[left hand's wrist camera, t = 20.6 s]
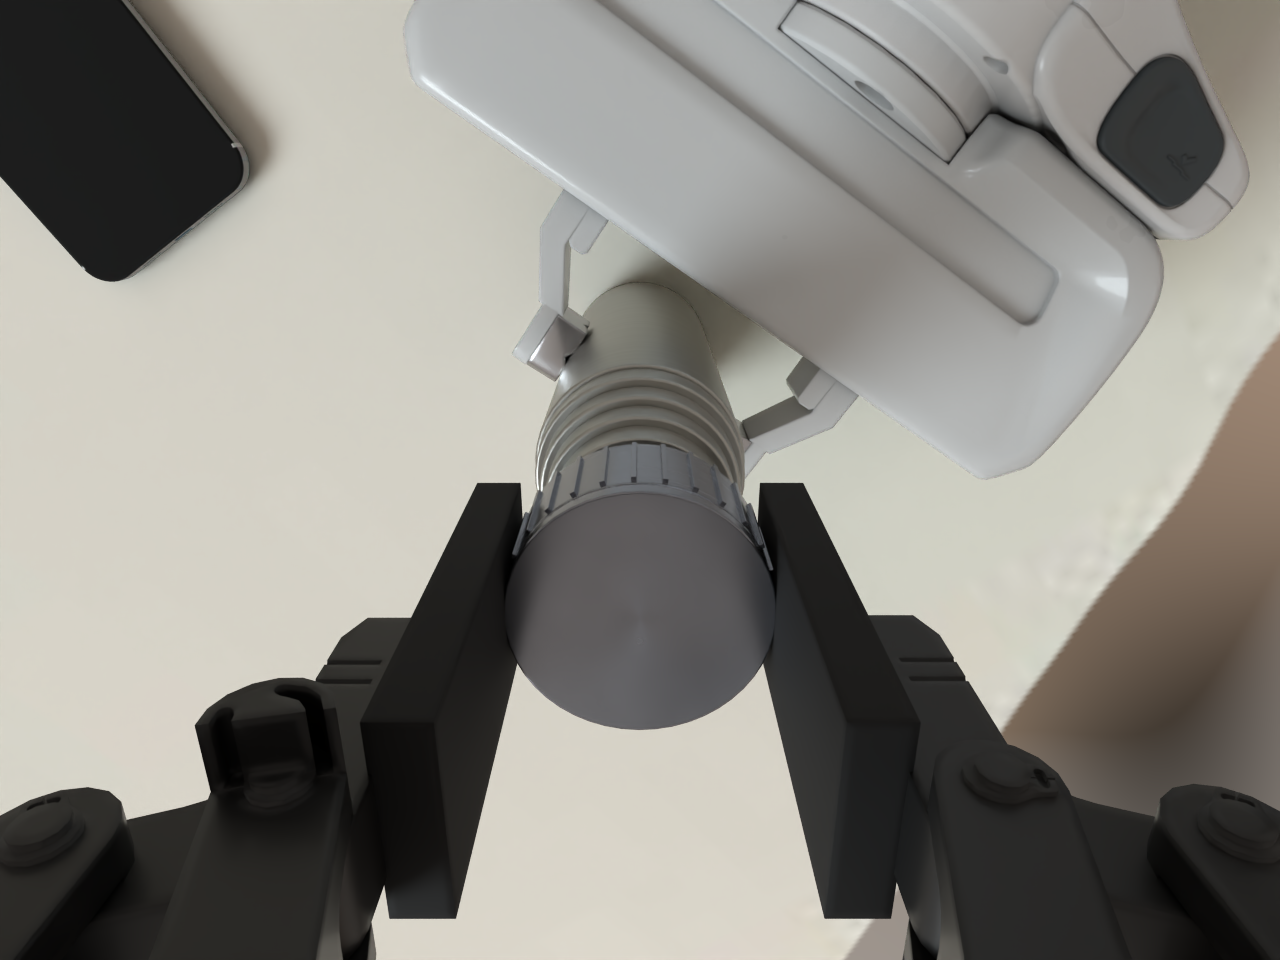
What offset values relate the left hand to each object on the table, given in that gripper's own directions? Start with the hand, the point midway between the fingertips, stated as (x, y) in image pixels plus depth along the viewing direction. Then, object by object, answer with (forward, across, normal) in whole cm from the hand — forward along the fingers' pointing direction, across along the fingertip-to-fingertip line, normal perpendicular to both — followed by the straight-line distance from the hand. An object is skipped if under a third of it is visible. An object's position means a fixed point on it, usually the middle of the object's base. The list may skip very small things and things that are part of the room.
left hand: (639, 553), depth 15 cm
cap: (-2, 0, 0) cm, 2 cm away
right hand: (+10, 0, -1) cm, 10 cm away
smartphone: (+17, -20, +10) cm, 28 cm away
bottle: (+17, 0, 0) cm, 17 cm away
